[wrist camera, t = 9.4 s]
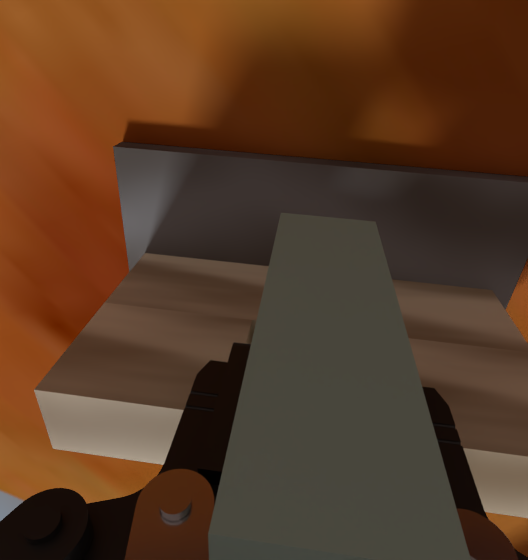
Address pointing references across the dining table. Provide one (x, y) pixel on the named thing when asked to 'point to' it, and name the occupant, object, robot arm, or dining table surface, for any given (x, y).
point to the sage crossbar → (332, 415)
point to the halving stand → (250, 284)
